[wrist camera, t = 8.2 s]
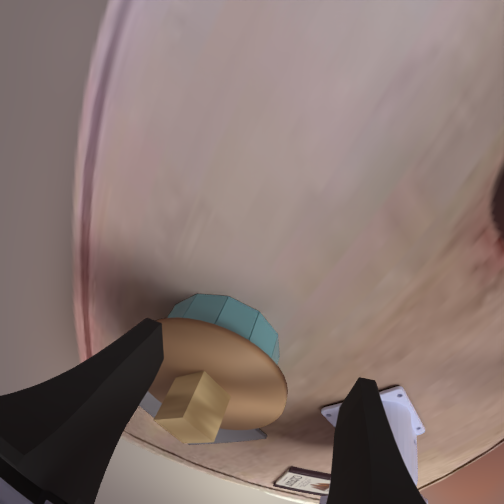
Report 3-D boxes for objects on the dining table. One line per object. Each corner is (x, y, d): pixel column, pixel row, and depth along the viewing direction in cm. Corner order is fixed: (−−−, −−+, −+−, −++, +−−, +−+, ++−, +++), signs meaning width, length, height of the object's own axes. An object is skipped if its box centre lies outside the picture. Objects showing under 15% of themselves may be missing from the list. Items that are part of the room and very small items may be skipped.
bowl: (300, 361, 25) (292, 401, 22) (217, 384, 29) (203, 417, 26) (231, 276, 22) (211, 313, 19) (150, 316, 27) (128, 348, 23)
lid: (317, 410, 21) (308, 466, 17) (201, 427, 27) (184, 469, 23) (216, 292, 18) (182, 353, 14) (108, 341, 24) (76, 383, 19)
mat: (266, 435, 32) (266, 438, 32) (189, 442, 38) (188, 444, 38) (189, 365, 29) (187, 369, 28) (119, 384, 35) (118, 386, 34)
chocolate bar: (374, 502, 38) (273, 486, 40) (375, 497, 39) (274, 481, 41) (404, 485, 34) (291, 469, 35) (405, 480, 34) (292, 463, 36)
